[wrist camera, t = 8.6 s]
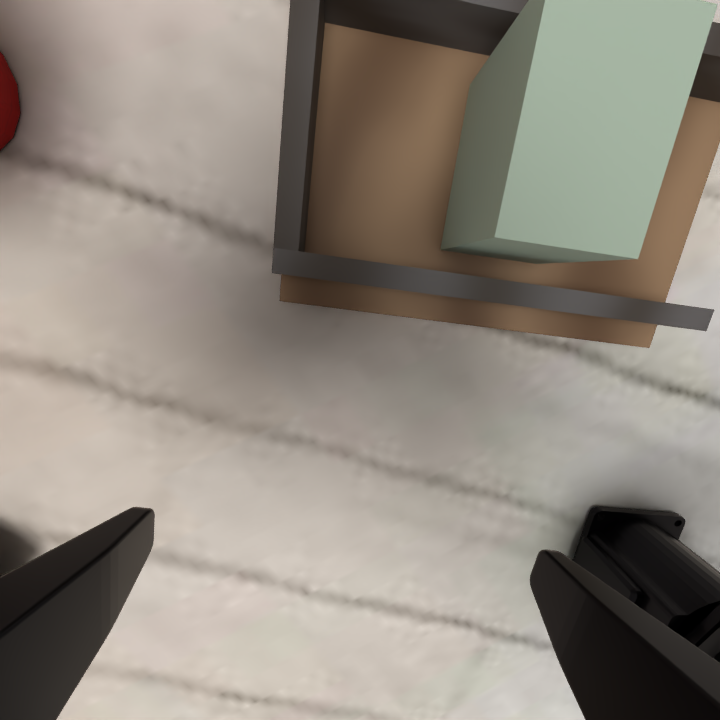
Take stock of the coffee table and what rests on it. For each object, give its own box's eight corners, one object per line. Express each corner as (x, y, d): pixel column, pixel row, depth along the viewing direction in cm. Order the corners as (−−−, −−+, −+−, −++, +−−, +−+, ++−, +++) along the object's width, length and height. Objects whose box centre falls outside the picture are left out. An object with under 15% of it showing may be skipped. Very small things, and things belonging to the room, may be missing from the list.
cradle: (723, 61, 16) (830, 2, 13) (631, 343, 20) (695, 358, 16) (308, -28, 15) (298, -125, 11) (283, 299, 18) (269, 305, 14)
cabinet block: (577, 97, 15) (722, -9, 10) (536, 264, 17) (638, 258, 11) (471, 77, 15) (554, -48, 9) (440, 249, 17) (494, 237, 11)
